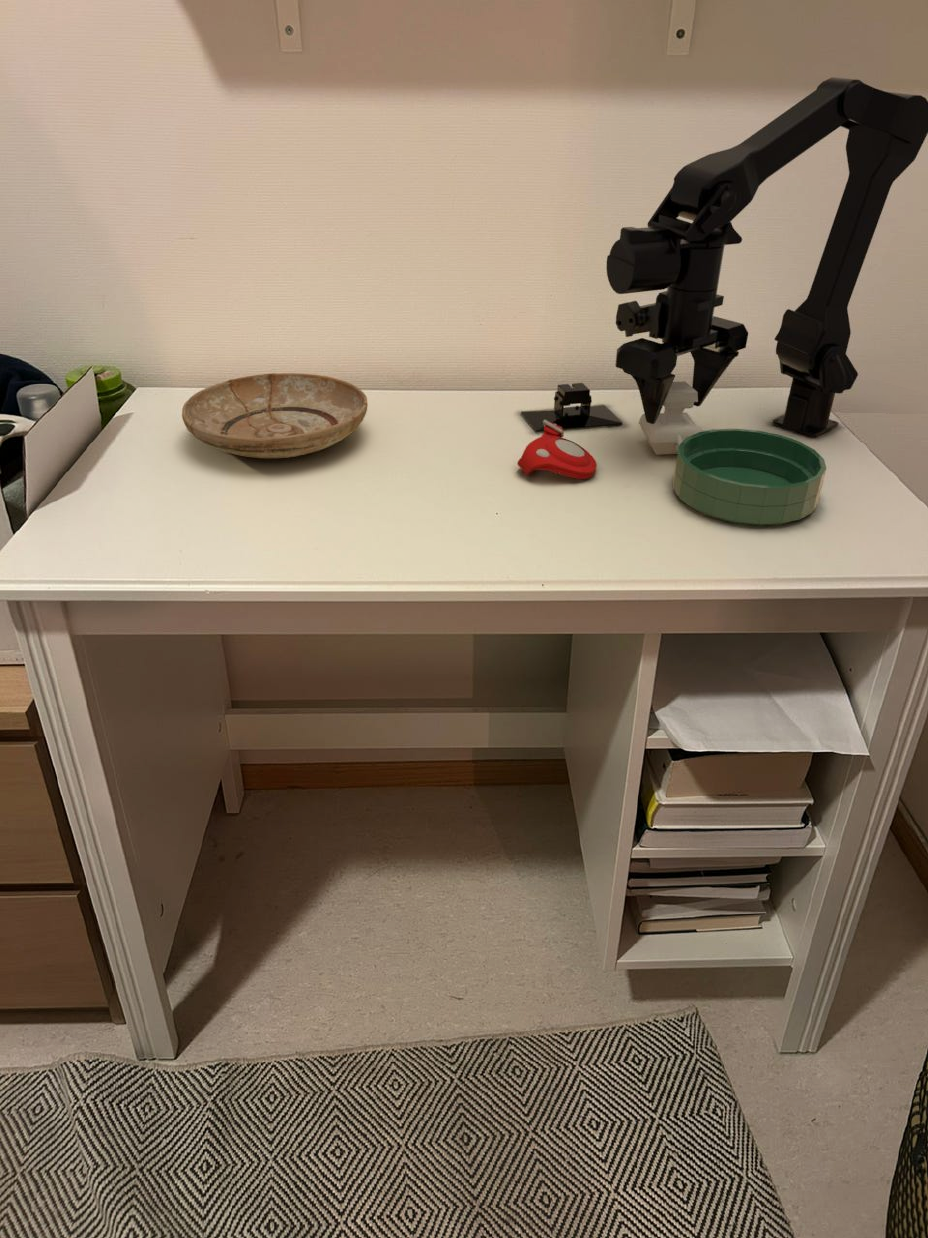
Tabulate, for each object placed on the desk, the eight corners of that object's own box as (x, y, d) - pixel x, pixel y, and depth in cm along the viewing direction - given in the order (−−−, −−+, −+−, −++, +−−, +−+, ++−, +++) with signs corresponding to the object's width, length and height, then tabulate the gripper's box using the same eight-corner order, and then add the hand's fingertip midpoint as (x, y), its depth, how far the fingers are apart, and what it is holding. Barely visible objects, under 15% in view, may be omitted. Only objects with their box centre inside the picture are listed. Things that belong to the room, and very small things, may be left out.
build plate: (603, 407, 130) (607, 375, 127) (623, 426, 124) (628, 393, 121) (520, 413, 127) (522, 380, 125) (536, 433, 121) (539, 399, 119)
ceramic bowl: (347, 397, 131) (345, 363, 128) (388, 463, 113) (387, 425, 110) (180, 414, 125) (174, 379, 122) (195, 487, 107) (188, 447, 104)
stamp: (704, 463, 114) (715, 398, 109) (652, 465, 113) (661, 399, 109) (681, 435, 122) (691, 372, 117) (633, 436, 121) (641, 374, 116)
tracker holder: (616, 465, 110) (554, 465, 105) (600, 495, 113) (539, 496, 107) (560, 411, 117) (499, 408, 111) (547, 441, 120) (487, 439, 114)
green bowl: (725, 455, 116) (732, 418, 113) (842, 499, 106) (853, 459, 103) (644, 492, 107) (649, 452, 104) (764, 544, 97) (773, 501, 94)
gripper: (685, 260, 116) (668, 380, 125) (586, 284, 106) (575, 413, 115) (761, 278, 109) (737, 403, 118) (663, 305, 99) (645, 440, 108)
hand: (673, 413), depth 115 cm, fingers open, 9 cm apart
